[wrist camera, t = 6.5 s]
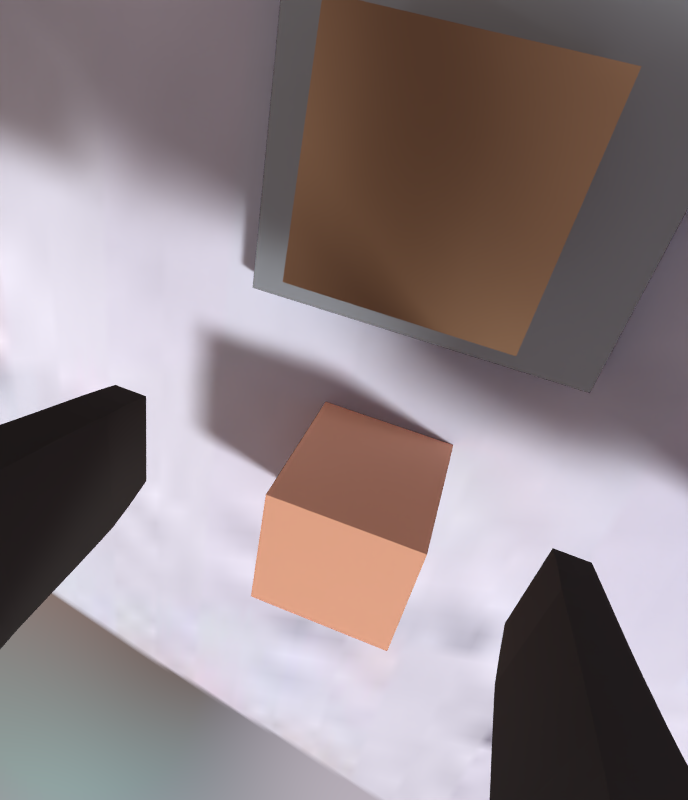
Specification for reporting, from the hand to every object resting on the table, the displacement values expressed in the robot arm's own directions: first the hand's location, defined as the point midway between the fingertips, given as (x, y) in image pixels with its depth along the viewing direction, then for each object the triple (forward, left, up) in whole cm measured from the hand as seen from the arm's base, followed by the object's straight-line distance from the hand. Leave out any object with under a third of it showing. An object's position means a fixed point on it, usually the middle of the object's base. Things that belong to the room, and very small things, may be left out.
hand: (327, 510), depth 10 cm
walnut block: (-2, -4, -8) cm, 9 cm away
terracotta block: (+3, +6, -8) cm, 11 cm away
